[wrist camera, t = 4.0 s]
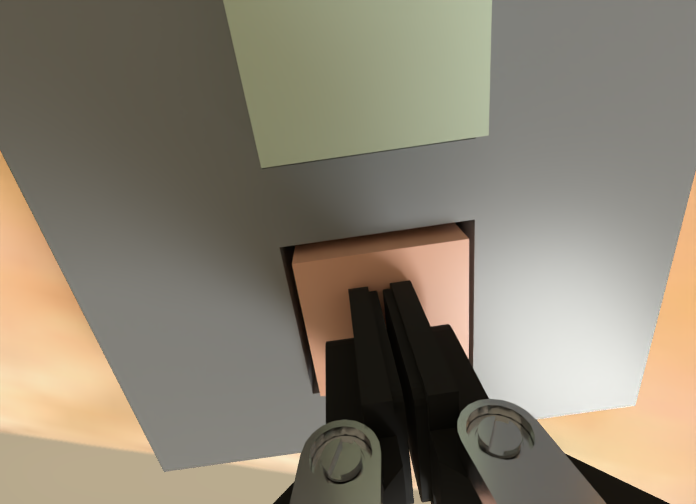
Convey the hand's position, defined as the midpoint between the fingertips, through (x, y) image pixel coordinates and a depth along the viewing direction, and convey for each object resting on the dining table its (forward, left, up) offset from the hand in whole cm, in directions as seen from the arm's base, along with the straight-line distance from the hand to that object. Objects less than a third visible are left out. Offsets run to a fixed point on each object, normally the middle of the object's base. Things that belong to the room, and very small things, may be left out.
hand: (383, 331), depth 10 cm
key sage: (-7, 0, -1) cm, 7 cm away
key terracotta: (0, 0, -3) cm, 3 cm away
